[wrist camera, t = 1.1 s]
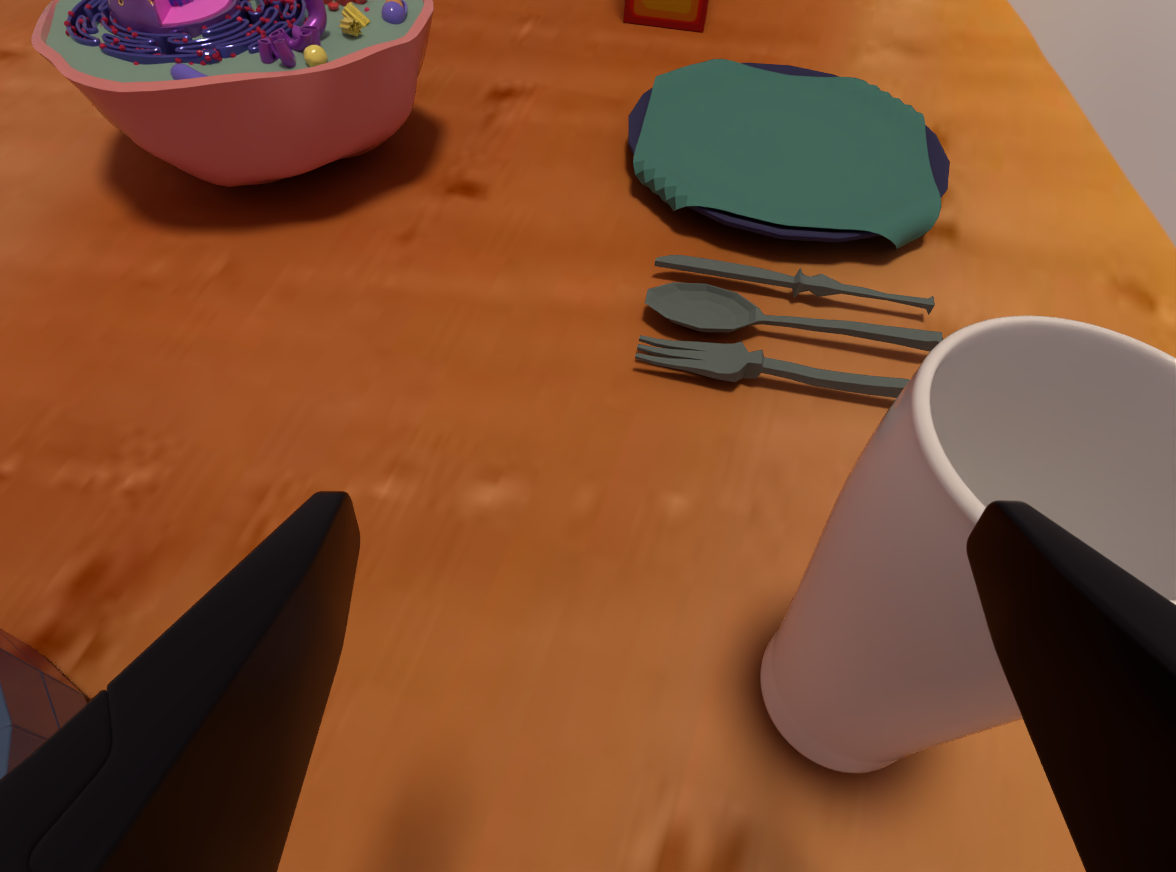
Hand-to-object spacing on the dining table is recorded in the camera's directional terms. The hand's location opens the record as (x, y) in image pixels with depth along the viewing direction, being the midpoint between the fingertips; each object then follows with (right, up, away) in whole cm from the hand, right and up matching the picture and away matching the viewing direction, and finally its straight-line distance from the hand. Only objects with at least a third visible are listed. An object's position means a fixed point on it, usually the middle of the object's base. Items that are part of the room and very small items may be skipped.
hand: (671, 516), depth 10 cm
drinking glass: (+7, -8, +15) cm, 18 cm away
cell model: (-20, +19, +33) cm, 43 cm away
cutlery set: (+10, +15, +32) cm, 36 cm away
